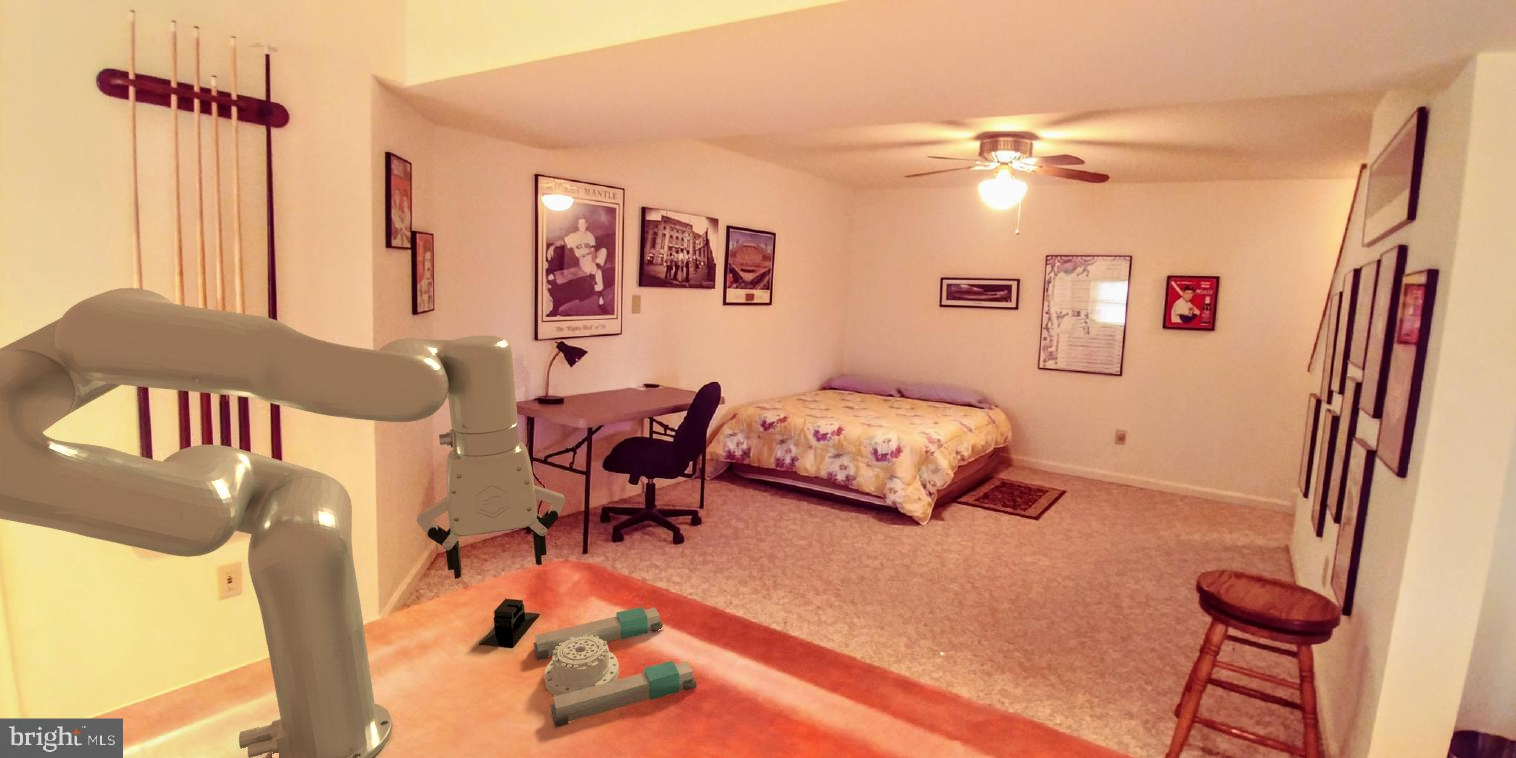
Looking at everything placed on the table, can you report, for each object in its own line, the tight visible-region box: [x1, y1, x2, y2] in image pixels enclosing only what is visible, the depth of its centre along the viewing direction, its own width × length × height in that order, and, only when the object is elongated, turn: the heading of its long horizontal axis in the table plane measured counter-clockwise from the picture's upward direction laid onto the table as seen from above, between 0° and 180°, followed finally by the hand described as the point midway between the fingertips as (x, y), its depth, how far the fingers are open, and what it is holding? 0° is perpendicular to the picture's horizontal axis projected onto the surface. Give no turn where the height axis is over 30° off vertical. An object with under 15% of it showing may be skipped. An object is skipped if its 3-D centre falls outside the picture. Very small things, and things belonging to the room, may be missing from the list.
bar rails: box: [532, 606, 697, 729], centre depth 103 cm, size 19×18×3 cm
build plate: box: [478, 598, 541, 649], centre depth 112 cm, size 12×7×5 cm, turn 171°
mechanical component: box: [543, 635, 620, 696], centre depth 101 cm, size 10×4×10 cm
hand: (499, 566), depth 93 cm, fingers open, 9 cm apart
